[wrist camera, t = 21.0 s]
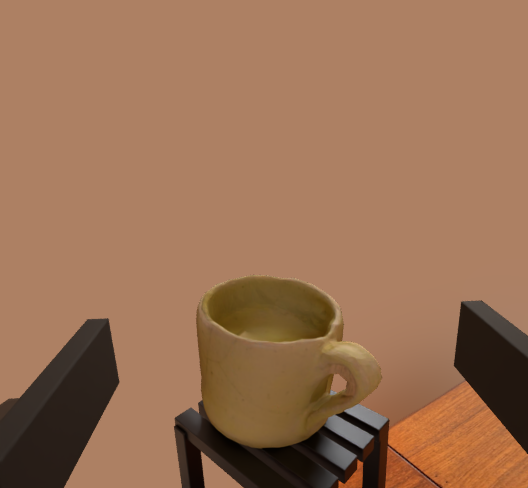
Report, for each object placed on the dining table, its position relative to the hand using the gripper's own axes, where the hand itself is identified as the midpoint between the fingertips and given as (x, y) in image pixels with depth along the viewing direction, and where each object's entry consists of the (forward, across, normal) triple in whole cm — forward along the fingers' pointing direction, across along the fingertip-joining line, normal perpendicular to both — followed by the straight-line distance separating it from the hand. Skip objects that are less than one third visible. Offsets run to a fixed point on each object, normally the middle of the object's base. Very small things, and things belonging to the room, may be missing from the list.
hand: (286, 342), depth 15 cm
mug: (+9, 0, -11) cm, 14 cm away
